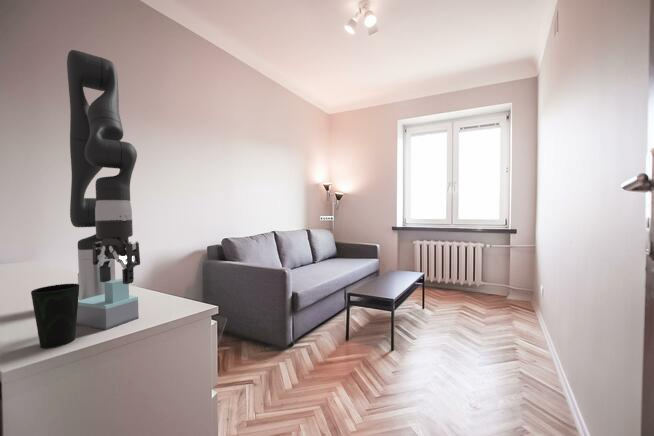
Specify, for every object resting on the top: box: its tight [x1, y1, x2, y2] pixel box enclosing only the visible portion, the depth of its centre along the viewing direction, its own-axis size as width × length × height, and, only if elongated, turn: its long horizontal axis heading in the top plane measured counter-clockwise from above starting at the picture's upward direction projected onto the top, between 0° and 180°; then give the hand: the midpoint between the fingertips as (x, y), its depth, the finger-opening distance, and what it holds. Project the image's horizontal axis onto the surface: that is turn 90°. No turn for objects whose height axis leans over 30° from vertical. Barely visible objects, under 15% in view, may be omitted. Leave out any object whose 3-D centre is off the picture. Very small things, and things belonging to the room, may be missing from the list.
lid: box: [78, 278, 139, 309], centre depth 75 cm, size 12×8×7 cm, turn 69°
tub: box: [76, 299, 140, 331], centre depth 75 cm, size 12×8×5 cm, turn 69°
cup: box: [30, 283, 79, 349], centre depth 63 cm, size 8×8×12 cm
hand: (116, 282), depth 73 cm, fingers open, 8 cm apart
